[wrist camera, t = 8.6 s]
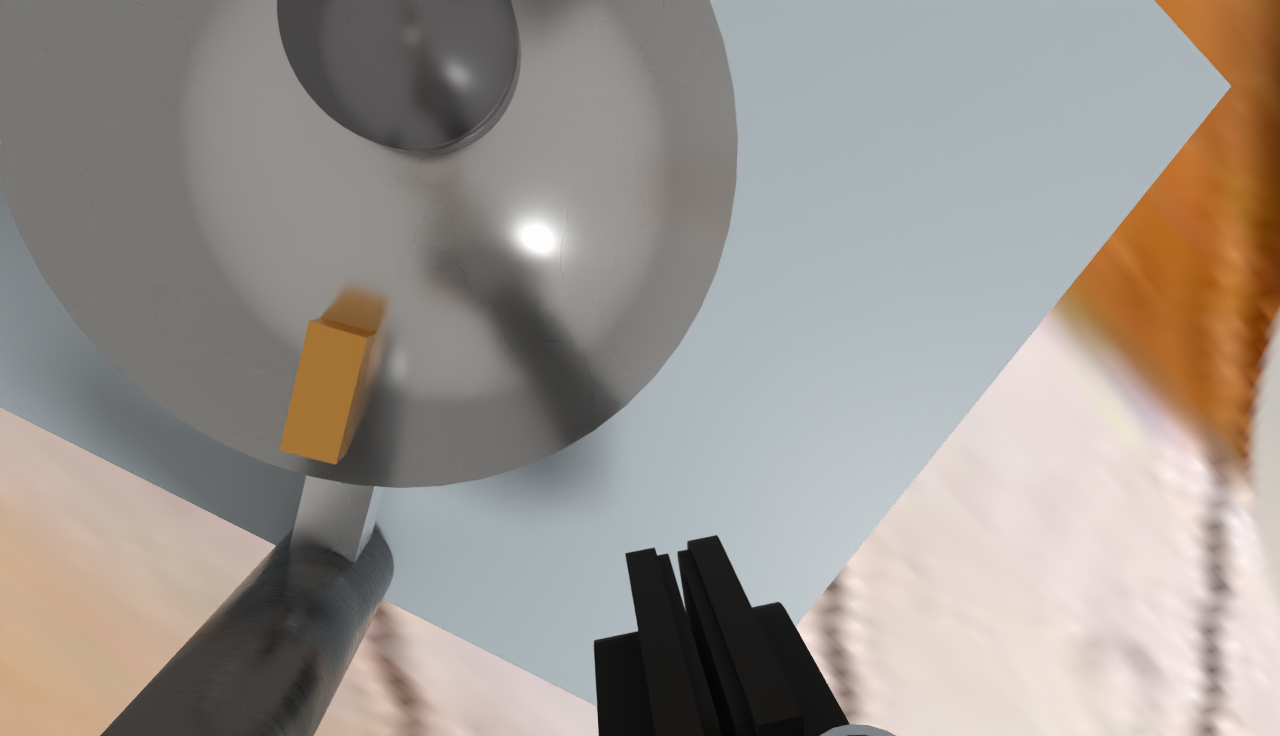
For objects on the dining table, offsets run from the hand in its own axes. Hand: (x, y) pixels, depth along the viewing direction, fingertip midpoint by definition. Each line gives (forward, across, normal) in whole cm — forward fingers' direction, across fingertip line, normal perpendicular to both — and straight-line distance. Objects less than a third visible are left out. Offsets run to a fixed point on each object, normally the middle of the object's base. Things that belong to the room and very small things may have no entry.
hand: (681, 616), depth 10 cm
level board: (+6, 0, -7) cm, 9 cm away
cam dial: (+3, +4, -6) cm, 8 cm away
